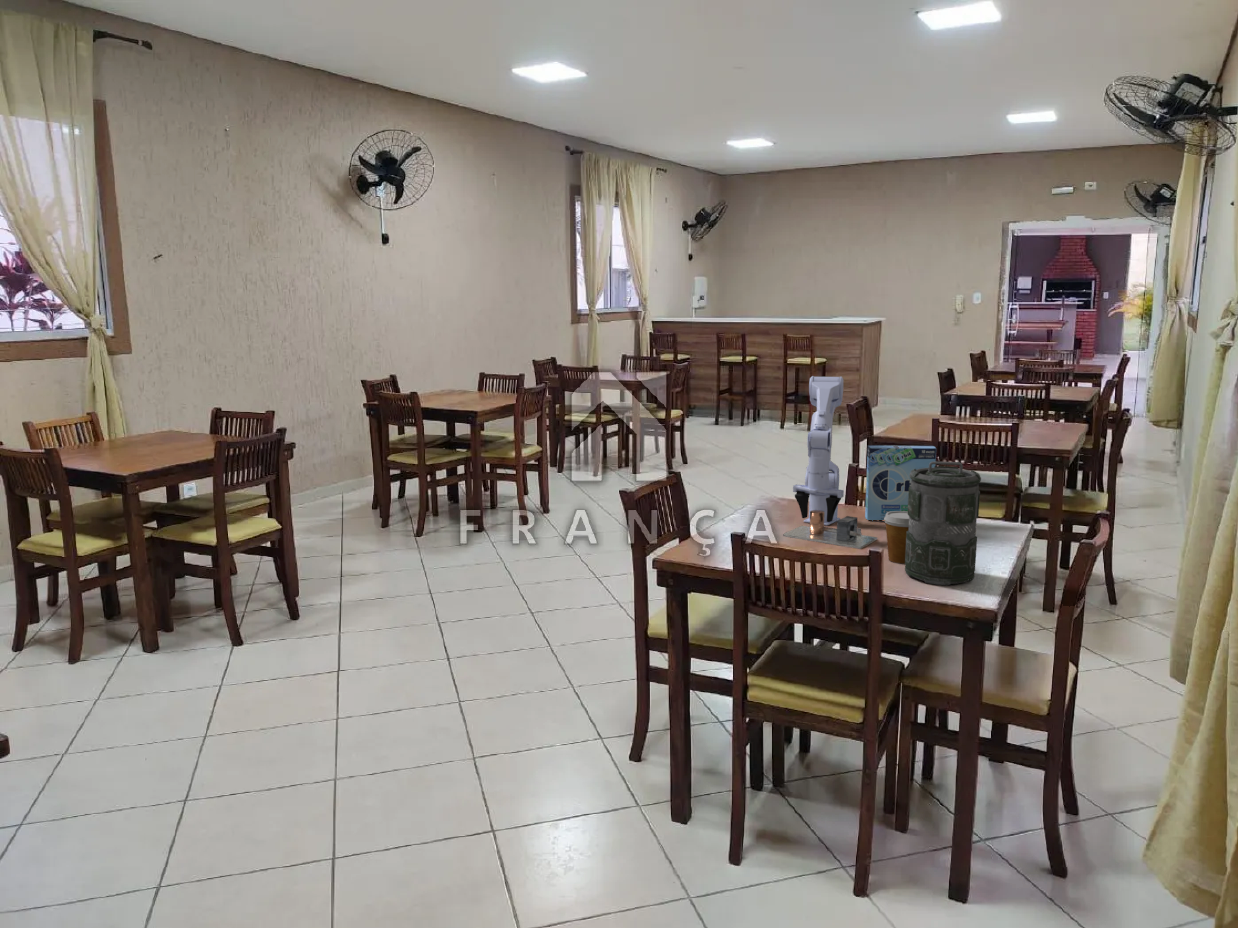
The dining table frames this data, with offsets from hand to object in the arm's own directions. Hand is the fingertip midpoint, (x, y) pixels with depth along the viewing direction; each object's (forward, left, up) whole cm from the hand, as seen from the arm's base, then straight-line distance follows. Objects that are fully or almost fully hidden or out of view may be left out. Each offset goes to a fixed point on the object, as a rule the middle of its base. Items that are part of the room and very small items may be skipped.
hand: (817, 519), depth 243 cm
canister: (+18, +40, -5) cm, 44 cm away
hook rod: (0, +5, -4) cm, 7 cm away
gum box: (-32, +12, -5) cm, 34 cm away
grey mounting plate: (0, +4, -5) cm, 6 cm away
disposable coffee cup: (+10, +28, -5) cm, 30 cm away
